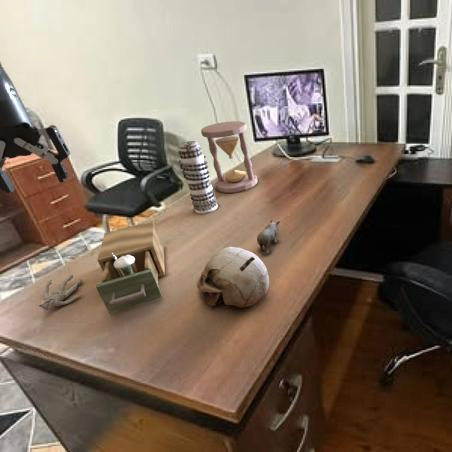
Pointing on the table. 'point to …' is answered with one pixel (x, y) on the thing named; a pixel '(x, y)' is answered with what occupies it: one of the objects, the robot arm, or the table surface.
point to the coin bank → (233, 278)
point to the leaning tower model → (197, 177)
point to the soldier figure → (59, 294)
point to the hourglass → (230, 155)
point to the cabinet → (132, 244)
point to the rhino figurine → (268, 236)
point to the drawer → (130, 283)
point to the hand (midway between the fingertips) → (37, 186)
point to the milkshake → (125, 265)
